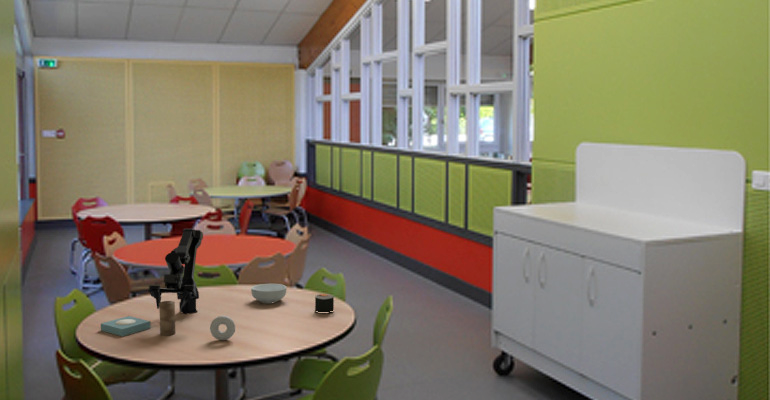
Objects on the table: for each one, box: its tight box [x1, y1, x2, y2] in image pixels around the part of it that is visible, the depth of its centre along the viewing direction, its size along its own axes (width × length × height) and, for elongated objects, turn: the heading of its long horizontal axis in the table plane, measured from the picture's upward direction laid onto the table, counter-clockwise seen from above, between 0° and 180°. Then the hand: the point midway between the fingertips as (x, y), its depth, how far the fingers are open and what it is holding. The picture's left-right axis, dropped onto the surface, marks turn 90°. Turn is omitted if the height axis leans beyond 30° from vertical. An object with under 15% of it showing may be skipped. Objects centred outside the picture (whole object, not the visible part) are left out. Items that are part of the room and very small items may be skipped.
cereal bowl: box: [250, 283, 287, 304], centre depth 351 cm, size 17×17×7 cm
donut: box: [209, 315, 236, 341], centre depth 290 cm, size 10×4×10 cm, turn 94°
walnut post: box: [158, 300, 176, 337], centre depth 298 cm, size 6×6×13 cm
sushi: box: [314, 292, 335, 312], centre depth 334 cm, size 8×8×8 cm
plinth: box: [100, 315, 152, 337], centre depth 304 cm, size 14×14×3 cm
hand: (168, 308), depth 300 cm, fingers open, 9 cm apart
